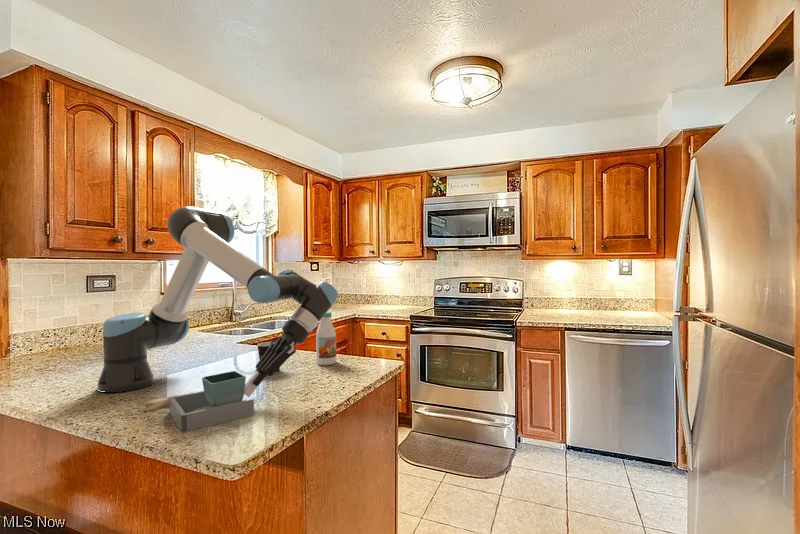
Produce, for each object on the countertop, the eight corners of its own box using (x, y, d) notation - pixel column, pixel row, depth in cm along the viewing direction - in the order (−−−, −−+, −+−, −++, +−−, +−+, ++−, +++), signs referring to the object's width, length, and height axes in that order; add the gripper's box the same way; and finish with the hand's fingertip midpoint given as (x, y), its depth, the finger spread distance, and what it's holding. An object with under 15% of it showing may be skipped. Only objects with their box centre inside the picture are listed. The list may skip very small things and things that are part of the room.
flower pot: (236, 401, 111) (235, 370, 111) (248, 409, 105) (246, 376, 105) (203, 410, 106) (201, 377, 105) (212, 419, 99) (211, 384, 99)
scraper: (147, 414, 104) (147, 406, 104) (144, 406, 110) (143, 399, 110) (208, 401, 114) (208, 394, 114) (202, 394, 120) (202, 387, 120)
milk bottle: (312, 365, 152) (311, 313, 152) (323, 360, 159) (322, 311, 159) (329, 366, 149) (328, 313, 149) (340, 361, 157) (339, 311, 156)
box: (234, 398, 115) (233, 384, 115) (253, 414, 101) (253, 399, 101) (169, 412, 104) (169, 397, 104) (181, 432, 91) (181, 415, 91)
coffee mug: (252, 372, 143) (252, 345, 143) (270, 366, 151) (270, 340, 151) (276, 376, 138) (275, 347, 138) (293, 370, 145) (293, 343, 145)
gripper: (318, 336, 115) (262, 407, 104) (298, 331, 125) (246, 395, 114) (300, 320, 111) (241, 392, 101) (282, 316, 121) (227, 381, 111)
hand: (244, 394), depth 108 cm, fingers closed
